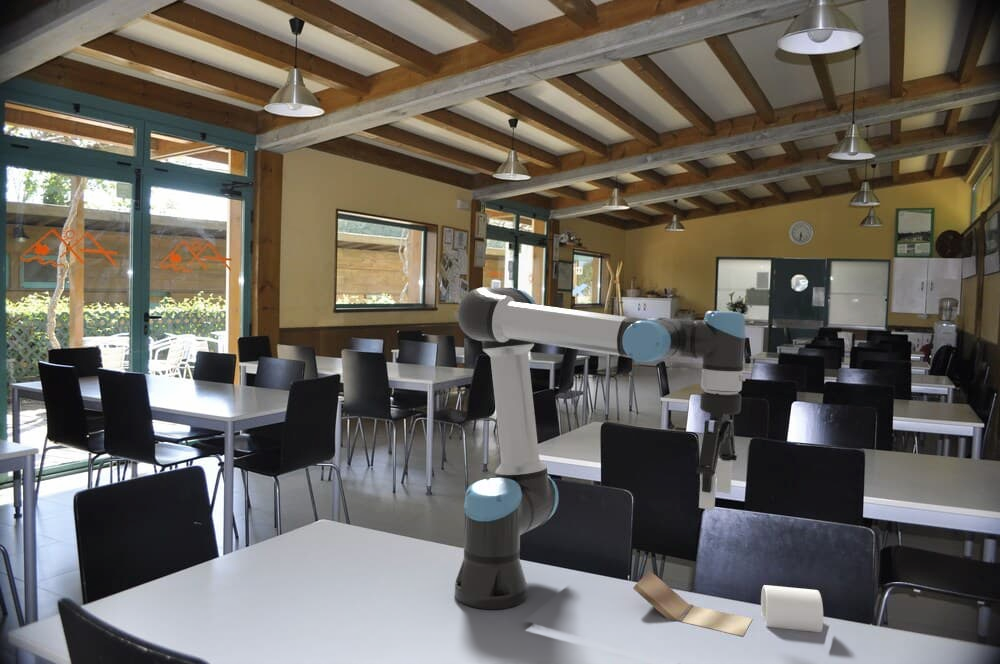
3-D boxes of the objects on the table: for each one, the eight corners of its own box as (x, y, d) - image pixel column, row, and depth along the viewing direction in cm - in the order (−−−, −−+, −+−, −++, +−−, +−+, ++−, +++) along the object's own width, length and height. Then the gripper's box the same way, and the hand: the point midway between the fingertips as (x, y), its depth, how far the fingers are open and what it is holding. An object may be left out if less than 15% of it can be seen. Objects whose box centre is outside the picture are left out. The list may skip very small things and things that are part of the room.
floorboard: (678, 627, 143) (678, 619, 143) (690, 611, 151) (690, 604, 151) (742, 643, 137) (742, 635, 137) (751, 625, 145) (752, 618, 145)
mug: (822, 642, 139) (824, 600, 138) (766, 636, 141) (767, 594, 140) (809, 615, 151) (811, 576, 150) (757, 609, 153) (758, 571, 152)
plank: (632, 588, 147) (636, 583, 147) (646, 574, 155) (649, 570, 155) (674, 624, 144) (677, 620, 143) (686, 609, 151) (689, 604, 151)
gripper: (726, 401, 131) (720, 519, 133) (753, 386, 153) (748, 489, 154) (684, 396, 135) (678, 512, 136) (716, 383, 157) (711, 483, 158)
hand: (715, 500), depth 145 cm, fingers open, 13 cm apart
